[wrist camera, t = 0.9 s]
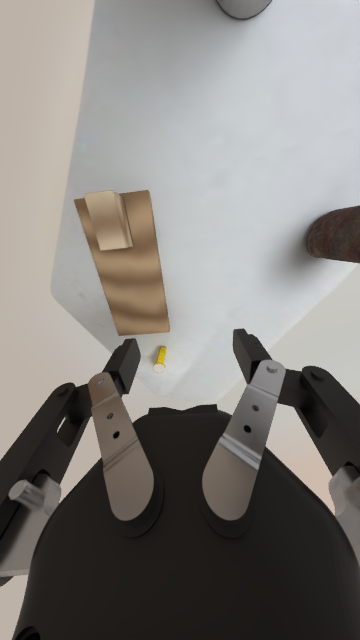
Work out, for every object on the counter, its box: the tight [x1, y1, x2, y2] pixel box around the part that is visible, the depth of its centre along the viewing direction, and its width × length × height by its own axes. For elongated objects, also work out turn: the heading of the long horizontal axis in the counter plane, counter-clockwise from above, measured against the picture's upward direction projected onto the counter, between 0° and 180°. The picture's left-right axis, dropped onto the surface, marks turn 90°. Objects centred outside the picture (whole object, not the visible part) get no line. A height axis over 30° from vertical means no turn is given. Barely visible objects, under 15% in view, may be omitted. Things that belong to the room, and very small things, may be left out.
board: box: [74, 190, 170, 336], centre depth 32 cm, size 26×12×2 cm, turn 6°
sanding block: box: [84, 190, 134, 250], centre depth 25 cm, size 7×4×4 cm, turn 6°
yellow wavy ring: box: [153, 347, 166, 373], centre depth 39 cm, size 6×3×6 cm, turn 165°
